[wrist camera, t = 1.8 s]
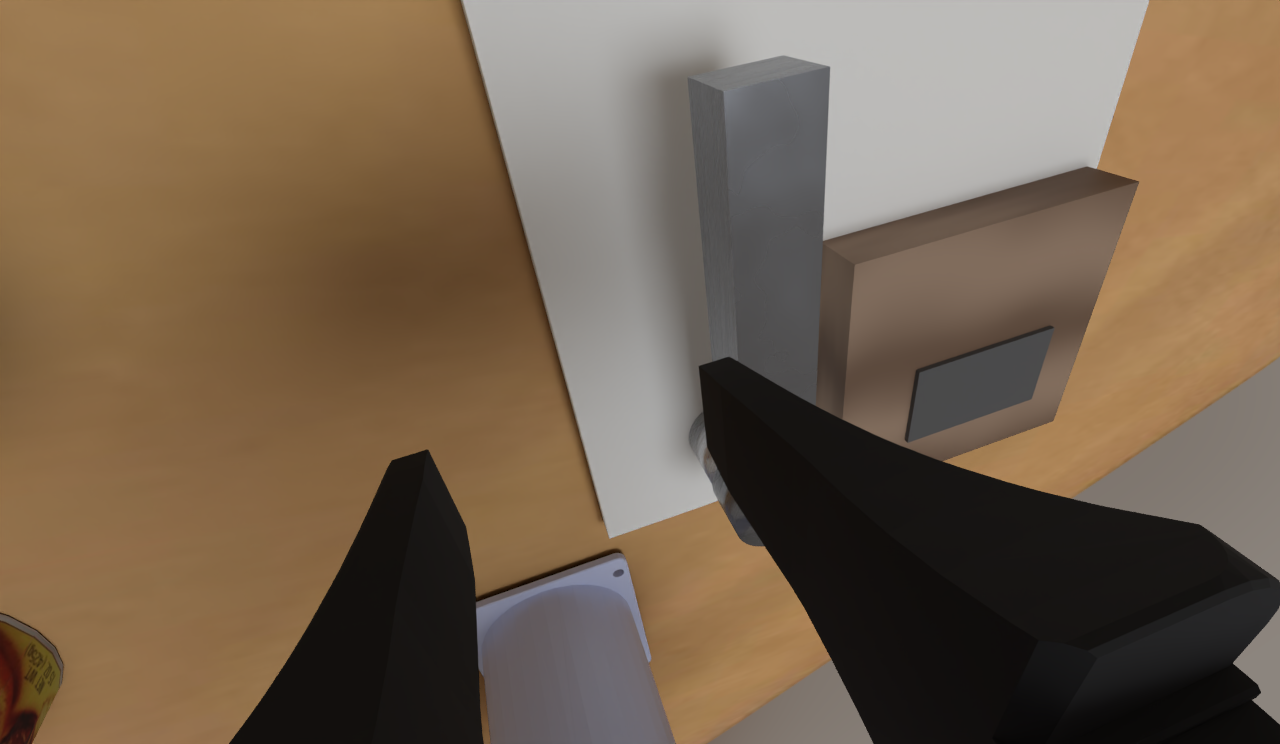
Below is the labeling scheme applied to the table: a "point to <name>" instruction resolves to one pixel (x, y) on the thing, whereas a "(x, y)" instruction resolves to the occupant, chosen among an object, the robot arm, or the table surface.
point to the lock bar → (762, 221)
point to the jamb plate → (666, 178)
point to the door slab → (965, 300)
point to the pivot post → (701, 446)
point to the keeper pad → (976, 383)
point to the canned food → (25, 680)
